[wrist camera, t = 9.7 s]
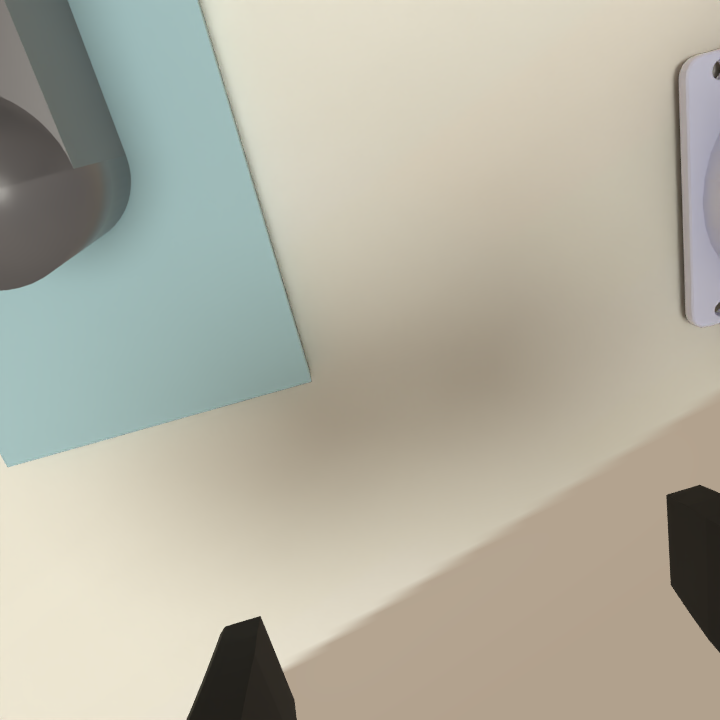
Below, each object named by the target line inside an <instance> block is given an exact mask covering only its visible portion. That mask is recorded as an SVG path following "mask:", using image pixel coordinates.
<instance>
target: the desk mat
mask: <svg viewBox="0 0 720 720" xmlns="http://www.w3.org/2000/svg"><path fill="white" fill-rule="evenodd" d="M68 3H69V5H70V8H71V11H72V13H73V16H74V19H75V21H76V24H77V27H78V29H79V32H80V34H81V37H82V40H83V42H84V45H85V48H86V50H87V53H88V56H89V58H90V61H91V64H92V66H93V69H94V72H95V74H96V77H97V80H98V82H99V85H100V88H101V90H102V93H103V96H104V98H105V101H106V104H107V106H108V109H109V112H110V114H111V117H112V120H113V122H114V125H115V128H116V130H117V133H118V136H119V138H120V141H121V144H122V146H123V149H124V151H125V154H126V157H127V160H128V164H129V168H130V174H131V190H130V196H129V201H128V204H127V206H126V209H125V211H124V213H123V215H122V216H121V218H120V219H119V221H118V222H117V223H116V225H115V226H114V227H113V228H112V229H110V230H109V231H108V232H107V233H105V234H104V235H103V236H101V237H100V238H98V239H97V240H96V241H94V242H93V243H92V244H90V245H89V246H87V247H86V248H85V249H83V250H82V251H80V252H79V253H78V254H76V255H75V256H73V257H72V258H71V259H69V260H68V261H66V262H65V263H64V264H62V265H61V266H60V267H58V268H57V269H55V270H54V271H53V272H51V273H50V274H48V275H47V276H45V277H44V278H42V279H40V280H38V281H36V282H35V283H33V284H30V285H27V286H24V287H21V288H16V289H11V290H3V291H0V454H1V456H2V458H3V460H4V462H5V463H6V465H7V467H10V466H14V465H18V464H21V463H25V462H28V461H32V460H35V459H39V458H42V457H46V456H49V455H53V454H57V453H60V452H64V451H67V450H71V449H74V448H78V447H81V446H85V445H89V444H92V443H96V442H99V441H103V440H106V439H110V438H113V437H117V436H120V435H124V434H128V433H131V432H135V431H138V430H142V429H145V428H149V427H152V426H156V425H160V424H163V423H167V422H170V421H174V420H177V419H181V418H184V417H188V416H191V415H195V414H199V413H202V412H206V411H209V410H213V409H216V408H220V407H223V406H227V405H230V404H234V403H238V402H241V401H245V400H248V399H252V398H255V397H259V396H262V395H266V394H270V393H273V392H277V391H280V390H284V389H287V388H291V387H294V386H298V385H301V384H305V383H309V382H312V381H311V376H310V371H309V367H308V364H307V361H306V357H305V354H304V351H303V347H302V344H301V341H300V337H299V334H298V331H297V327H296V324H295V321H294V317H293V314H292V310H291V307H290V304H289V300H288V297H287V294H286V290H285V287H284V284H283V280H282V277H281V274H280V270H279V267H278V264H277V260H276V257H275V254H274V250H273V247H272V243H271V240H270V237H269V233H268V230H267V227H266V223H265V220H264V217H263V213H262V210H261V207H260V203H259V200H258V197H257V193H256V190H255V187H254V183H253V180H252V177H251V173H250V170H249V166H248V163H247V160H246V156H245V153H244V150H243V146H242V143H241V140H240V136H239V133H238V130H237V126H236V123H235V120H234V116H233V113H232V110H231V106H230V103H229V99H228V96H227V93H226V89H225V86H224V83H223V79H222V76H221V73H220V69H219V66H218V63H217V59H216V56H215V53H214V49H213V46H212V43H211V39H210V36H209V33H208V29H207V26H206V22H205V19H204V16H203V12H202V9H201V6H200V2H199V0H68Z"/></svg>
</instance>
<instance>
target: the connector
mask: <svg viewBox="0 0 720 720" xmlns="http://www.w3.org/2000/svg"><path fill="white" fill-rule="evenodd" d="M130 190H131V174H130V168H129V164H128V160H127V157H126V154H125V151H124V149H123V146H122V144H121V141H120V138H119V136H118V133H117V130H116V128H115V125H114V122H113V120H112V117H111V114H110V112H109V109H108V106H107V104H106V101H105V98H104V96H103V93H102V90H101V88H100V85H99V82H98V80H97V77H96V74H95V72H94V69H93V66H92V64H91V61H90V58H89V56H88V53H87V50H86V48H85V45H84V42H83V40H82V37H81V34H80V32H79V29H78V27H77V24H76V21H75V19H74V16H73V13H72V11H71V8H70V5H69V3H68V0H0V291H3V290H11V289H16V288H21V287H24V286H27V285H30V284H33V283H35V282H36V281H38V280H40V279H42V278H44V277H45V276H47V275H48V274H50V273H51V272H53V271H54V270H55V269H57V268H58V267H60V266H61V265H62V264H64V263H65V262H66V261H68V260H69V259H71V258H72V257H73V256H75V255H76V254H78V253H79V252H80V251H82V250H83V249H85V248H86V247H87V246H89V245H90V244H92V243H93V242H94V241H96V240H97V239H98V238H100V237H101V236H103V235H104V234H105V233H107V232H108V231H109V230H110V229H112V228H113V227H114V226H115V225H116V223H117V222H118V221H119V219H120V218H121V216H122V215H123V213H124V211H125V209H126V206H127V204H128V201H129V196H130Z"/></svg>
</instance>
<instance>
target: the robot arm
mask: <svg viewBox="0 0 720 720" xmlns="http://www.w3.org/2000/svg"><path fill="white" fill-rule="evenodd" d="M716 61H718V62H719V64H720V49H717V50H713V51H709V52H705V53H702V54H698V55H695V56H693V57H691V58H689V59H688V60H687V61H686V62H685V63H684V64H683V66H682V68H681V70H680V73H679V108H680V141H681V175H682V209H683V242H684V276H685V309H686V317H687V320H688V321H689V322H690V323H692V324H694V325H696V326H698V327H708V326H712V325H715V324H719V323H720V309H719V310H718V311H717V312H715V307H716V305H717V304H718V303H719V302H720V73H719V75H718V76H717V78H716V79H715V78H714V77H713V74H712V70H713V66H714V64H715V63H716ZM667 516H668V535H669V555H670V577H671V586H672V587H673V589H674V590H675V592H676V593H677V595H678V596H679V598H680V599H681V601H682V602H683V604H684V605H685V607H686V608H687V610H688V611H689V613H690V614H691V615H692V617H693V618H694V620H695V621H696V623H697V624H698V625H699V627H700V628H701V630H702V631H703V632H704V634H705V635H706V637H707V638H708V639H709V641H710V642H711V643H712V644H713V645H714V646H715V648H716V649H717V650H718V651H719V652H720V493H718V492H716V491H713V490H711V489H708V488H706V487H704V486H701V485H698V486H695V487H692V488H688V489H685V490H681V491H678V492H675V493H671V494H668V495H667ZM187 720H297V718H296V710H295V702H294V698H293V696H292V693H291V691H290V688H289V686H288V683H287V681H286V678H285V676H284V673H283V671H282V668H281V666H280V663H279V661H278V658H277V656H276V653H275V651H274V649H273V646H272V644H271V641H270V639H269V636H268V634H267V631H266V629H265V626H264V624H263V621H262V619H261V616H259V617H256V618H253V619H249V620H246V621H243V622H239V623H236V624H233V625H229V626H226V627H225V628H224V629H223V631H222V632H221V634H220V637H219V639H218V642H217V645H216V648H215V650H214V653H213V655H212V658H211V661H210V663H209V666H208V668H207V671H206V674H205V676H204V679H203V681H202V684H201V686H200V689H199V691H198V694H197V696H196V698H195V701H194V703H193V706H192V708H191V711H190V713H189V715H188V717H187Z"/></svg>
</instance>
